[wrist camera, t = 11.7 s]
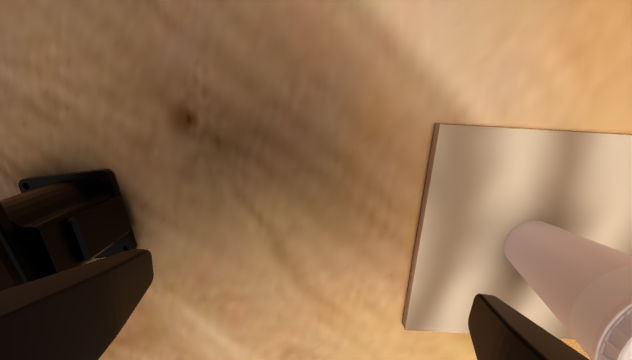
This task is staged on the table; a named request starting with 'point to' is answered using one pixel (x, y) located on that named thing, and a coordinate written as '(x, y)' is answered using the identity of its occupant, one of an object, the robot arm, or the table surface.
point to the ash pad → (509, 214)
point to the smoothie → (578, 285)
